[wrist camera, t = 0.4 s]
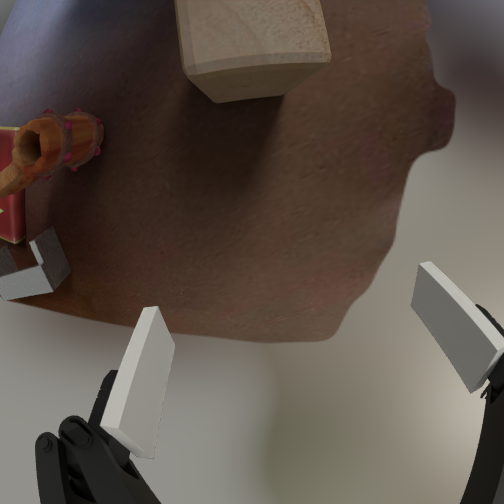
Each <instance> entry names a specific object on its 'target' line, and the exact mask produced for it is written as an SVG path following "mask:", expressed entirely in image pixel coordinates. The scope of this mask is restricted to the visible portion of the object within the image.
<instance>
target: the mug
mask: <svg viewBox="0 0 504 504" xmlns="http://www.w3.org/2000/svg"><path fill="white" fill-rule="evenodd" d="M103 137H104V128H103V125H102V120H101V118H96V117H95V116H93V115H92V114H90V113H87V112H82V110H81V109H80V108H76V109H75V110H74V112H73V113H71V114H69V115H67V116H62V115H60V114H55V113H53V112H52V110H50V109H47V110H45V111H44V113H43V115H41V116H40V117H38V118H36V119H35V120H30V121H29V122H28V124H26V125H23V126H22V127H21V128H20V129H19V130H18V132H17V133H16V136H15V138H14V144H15V148H14V149H13V151H12V156H13V161H12V162H11V164H10V165H9V166H8V167H6V168H5V169H4V170H3V171H2V172H0V197H2V198H4V197H6V196H9V195H12V194H14V193H16V192H18V191H20V190H22V189H24V188H25V187H27V186H29V185H30V184H32V183H33V182H35V181H36V180H38V179H39V178H41V177H43V179H44V180H48V179H49V178H50V176H51V174H53V173H55V172H57V171H58V170H59V169H61V168H62V166H66V167H70V168H71V170H72V171H74V172H75V171H77V170H78V169H79V166H80V165H82V164H85V163H86V162H88V161H89V160H90V159H91V158H92V157H93V156H94V155H95V156H97V155H99V154H100V151H101V150H100V144H101V143H102V141H103Z"/></svg>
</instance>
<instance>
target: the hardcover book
mask: <svg viewBox="0 0 504 504" xmlns="http://www.w3.org/2000/svg"><path fill="white" fill-rule="evenodd" d="M20 128H21V127H0V172H2V171H3V170H4V169H5V168H6V167H8V166H9V165H10V164H11V162H12V161H13V156H12V151H13V149H14V148H15V144H14V138H15V136H16V133H17V132H18V130H19V129H20ZM25 237H26V229H25V188H24V189H22V190H20V191H18V192H16V193H14V194H12V195H9V196H6V197H4V198H2V197H0V238H1V239H3V240H6V241H8V242H11V243H13V244H17V243H19V242H20V241H22V240H23V239H24V238H25Z"/></svg>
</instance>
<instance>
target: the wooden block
mask: <svg viewBox="0 0 504 504" xmlns="http://www.w3.org/2000/svg"><path fill="white" fill-rule="evenodd" d="M174 4H175V13H176V22H177V31H178V39H179V47H180V54H181V62H182V69H183V72H184V73H185V75H186V76H187V77H188V79H189V80H190V81H191V82H193V83H194V84H195V85H196V86H197V87H198V88H199V89H200V90H201V91H202V92H203V93H204V94H205V95H206V96H208V97H209V98H210V99H211V100H212V101H213V102H215V103H224V102H231V101H237V100H245V99H253V98H261V97H271V96H281V95H283V94H285V93H287V92H288V91H290V90H291V89H293V88H294V87H296V86H297V85H299V84H300V83H302V82H303V81H304V80H306V79H308V78H309V77H311V76H312V75H314V74H315V73H317V72H318V71H320V70H321V69H323V68H325V67H326V66H328V65H329V63H330V59H331V51H330V46H329V41H328V36H327V31H326V27H325V22H324V18H323V13H322V9H321V5H320V1H319V0H174Z"/></svg>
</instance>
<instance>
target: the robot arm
mask: <svg viewBox="0 0 504 504" xmlns="http://www.w3.org/2000/svg"><path fill="white" fill-rule="evenodd" d="M411 307H412V308H413V310H414V311H415V312H416V314H417V315H418V316H419V318H420V319H421V320H422V321H423V323H424V324H425V326H426V327H427V328H428V330H429V331H430V333H431V334H432V335H433V337H434V338H435V340H436V341H437V343H438V344H439V345H440V347H441V348H442V350H443V351H444V353H445V354H446V356H447V357H448V359H449V360H450V362H451V363H452V365H453V366H454V368H455V369H456V371H457V373H458V374H459V375H460V377H461V379H462V380H463V382H464V384H465V385H466V387H467V389H468V390H469V392H470V394H471V393H472V392H474V391H476V390H477V389H479V388H481V387H482V386H483V384H484V383H485V381H486V380H487V378H488V380H489V381H490V383H489V385H488V386H487V387H486V389H485V390H484V391H483V393H482V394H481V397H480V398H483V396H484V395H485V394H486V392H487V396H486V397H485V399H486V405H485V412H484V418H483V424H482V430H481V435H480V440H479V444H478V448H477V452H476V456H475V460H474V464H473V467H472V471H471V474H470V477H469V480H468V483H467V486H466V489H465V492H464V495H463V497H462V500H461V502H460V504H504V329H503V328H502V327H501V326H500V325H499V324H498V323H497V322H496V320H495V319H494V318H493V317H492V316H491V315H490V314H489V313H488V311H487V310H486V309H484V308H483V307H481V306H480V305H478V304H476V305H474V304H473V303H472V302H471V301H470V300H469V298H467V296H466V295H465V294H464V293H463V292H462V291H461V290H460V289H459V288H458V287H457V286H456V285H455V284H454V283H453V282H451V280H450V279H449V278H447V277H446V276H445V275H444V274H443V273H442V272H441V271H440V270H439V269H438V268H437V267H436V266H434V264H433V263H432V262H430V261H428V262H423V263H419V267H418V272H417V277H416V283H415V288H414V293H413V297H412V302H411ZM174 350H175V344H174V342H173V340H172V338H171V336H170V333H169V331H168V329H167V327H166V324H165V322H164V320H163V317H162V315H161V313H160V310H159V308H158V306H155V307H145V308H143V311H142V313H141V315H140V318H139V320H138V323H137V325H136V327H135V330H134V332H133V335H132V337H131V340H130V342H129V345H128V347H127V350H126V352H125V355H124V358H123V360H122V363H121V365H120V368H119V370H111V371H110V372H109V373H108V374H107V375H106V377H105V378H104V380H103V382H102V385H101V387H100V389H101V390H99V393H98V395H97V396H98V398H96V401H95V404H94V406H93V410H92V413H91V415H90V418H89V421H88V423H87V422H86V421H85V420H84V419H83V418H81V417H79V416H74V415H73V416H69V417H67V418H66V419H65V420H63V421H62V423H61V424H60V427H59V430H58V431H59V432H58V433H59V437H60V438H57V437H56V436H55V435H54V434H52V433H50V432H45V433H43V434H41V435H40V436H39V437H38V439H37V440H36V444H35V456H36V471H37V480H38V489H39V496H40V502H41V504H161V503H160V501H159V500H158V499H157V497H156V496H155V495H154V493H153V492H152V491H151V489H150V488H149V486H148V485H147V484H146V482H145V480H144V479H143V477H142V476H141V474H140V473H139V471H138V470H137V468H136V467H135V465H134V464H133V462H132V461H131V460H130V459H129V455H130V452H131V453H133V454H134V455H135V456H137V457H142V458H149V459H154V454H155V448H156V442H157V435H158V430H159V424H160V418H161V413H162V407H163V403H164V398H165V392H166V388H167V383H168V378H169V373H170V368H171V364H172V359H173V355H174Z"/></svg>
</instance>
